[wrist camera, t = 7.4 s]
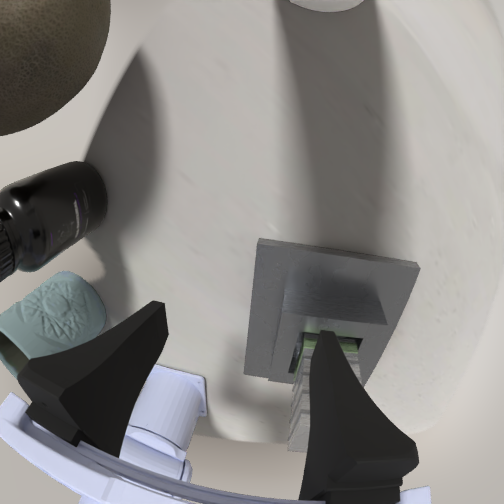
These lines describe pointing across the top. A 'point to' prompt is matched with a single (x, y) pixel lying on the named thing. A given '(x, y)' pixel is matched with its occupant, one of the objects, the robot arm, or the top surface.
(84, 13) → the cantaloupe
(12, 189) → the supplement bottle
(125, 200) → the top surface
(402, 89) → the top surface
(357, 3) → the cylindrical container
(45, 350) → the teal embossed planter pot
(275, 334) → the stand base
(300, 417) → the column
